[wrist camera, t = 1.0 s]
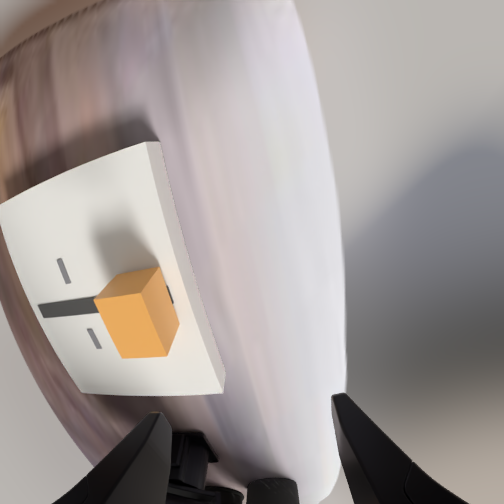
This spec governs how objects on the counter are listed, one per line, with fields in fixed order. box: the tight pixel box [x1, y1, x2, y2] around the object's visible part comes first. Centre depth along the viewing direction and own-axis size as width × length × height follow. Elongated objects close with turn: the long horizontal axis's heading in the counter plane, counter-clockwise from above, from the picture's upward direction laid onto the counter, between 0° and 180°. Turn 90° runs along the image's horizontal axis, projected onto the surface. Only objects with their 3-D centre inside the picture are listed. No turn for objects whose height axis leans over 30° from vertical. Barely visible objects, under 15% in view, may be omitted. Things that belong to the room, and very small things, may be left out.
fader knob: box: [94, 267, 180, 359], centre depth 16 cm, size 4×3×3 cm
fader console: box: [0, 142, 226, 396], centre depth 19 cm, size 18×14×3 cm
